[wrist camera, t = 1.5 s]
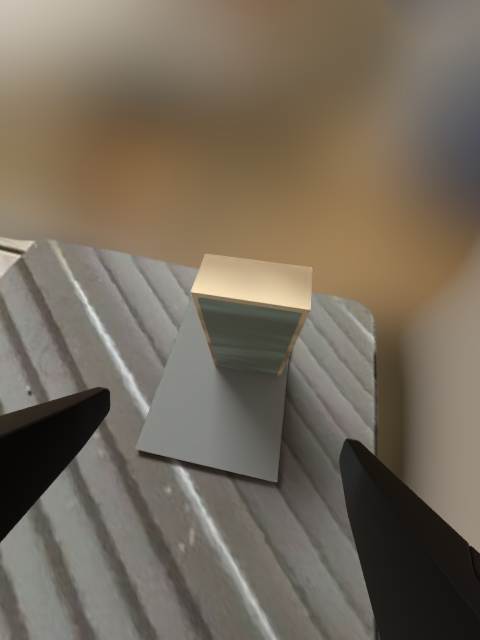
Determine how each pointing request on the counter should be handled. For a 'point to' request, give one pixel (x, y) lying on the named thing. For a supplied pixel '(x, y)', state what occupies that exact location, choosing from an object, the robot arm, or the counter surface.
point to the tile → (251, 311)
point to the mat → (215, 410)
